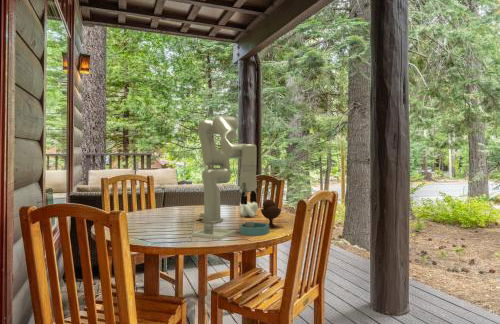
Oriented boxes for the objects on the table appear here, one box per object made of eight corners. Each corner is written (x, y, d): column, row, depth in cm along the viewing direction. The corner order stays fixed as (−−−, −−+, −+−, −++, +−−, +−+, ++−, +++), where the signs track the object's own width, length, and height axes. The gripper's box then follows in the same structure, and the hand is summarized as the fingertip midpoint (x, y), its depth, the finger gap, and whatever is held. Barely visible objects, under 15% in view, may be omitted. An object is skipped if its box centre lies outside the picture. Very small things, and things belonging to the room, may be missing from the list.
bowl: (235, 234, 175) (234, 226, 175) (248, 229, 188) (248, 221, 188) (260, 237, 169) (260, 229, 169) (272, 231, 181) (272, 223, 181)
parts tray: (192, 237, 171) (192, 233, 171) (209, 231, 184) (209, 227, 184) (220, 240, 164) (220, 236, 164) (236, 234, 176) (236, 230, 176)
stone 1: (202, 234, 174) (202, 225, 174) (207, 232, 178) (207, 223, 178) (209, 235, 172) (209, 226, 172) (214, 233, 176) (214, 224, 176)
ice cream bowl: (280, 229, 187) (279, 200, 187) (259, 228, 190) (258, 200, 189) (282, 225, 198) (282, 198, 197) (262, 224, 200) (262, 197, 200)
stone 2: (243, 231, 178) (243, 222, 178) (247, 230, 182) (247, 221, 182) (251, 232, 176) (251, 223, 176) (255, 230, 180) (255, 221, 180)
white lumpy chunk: (253, 214, 236) (253, 200, 236) (262, 216, 225) (262, 202, 225) (238, 215, 231) (237, 201, 230) (246, 218, 220) (246, 204, 220)
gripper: (250, 167, 188) (250, 199, 189) (233, 169, 173) (233, 204, 174) (263, 168, 185) (262, 201, 185) (247, 170, 169) (247, 206, 170)
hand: (248, 202), depth 180 cm, fingers open, 9 cm apart
